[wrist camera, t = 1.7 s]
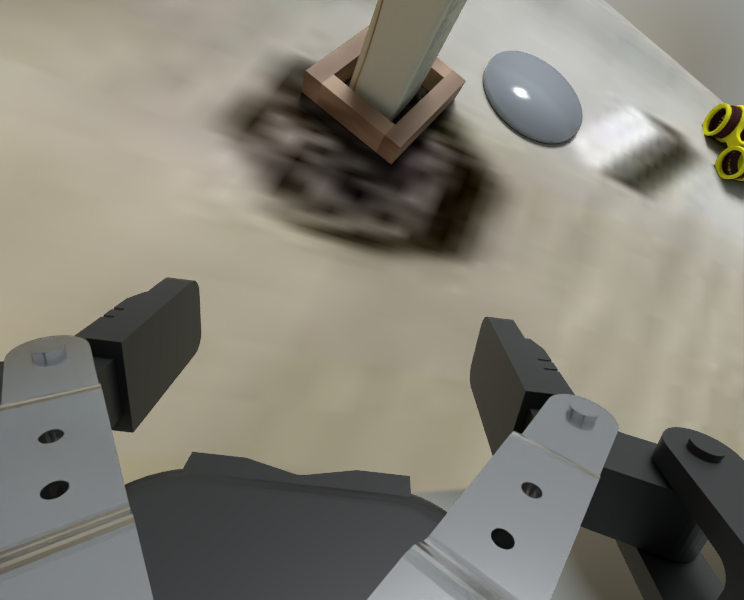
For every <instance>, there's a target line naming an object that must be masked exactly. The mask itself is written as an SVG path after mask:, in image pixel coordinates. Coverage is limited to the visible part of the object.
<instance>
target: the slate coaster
mask: <svg viewBox="0 0 744 600" xmlns="http://www.w3.org/2000/svg"><path fill="white" fill-rule="evenodd" d="M483 84H484V89H485V93H486V95H487V98H488V100H489V102H490V103H491V105H492V107H493V108H494V110H495V111H496V112H497V113H498V115H499V116H500V117H501V118H502V119H503V120H504V121H505V122H506V123H507V124H508V125H509V126H511V127H512V128H513V129H515V130H516V131H517V132H519V133H521V134H522V135H524V136H526V137H528V138H530V139H533V140H535V141H538V142H542V143H548V144H557V143H562V142H565V141H567V140H569V139H570V138H571V137H572V136H573V135H574V134H575V133H576V132H577V131H578V130H579V128H580V126H581V123H582V108H581V104H580V102H579V99H578V97H577V95H576V93H575V91H574V90H573V88H572V87H571V85H570V84H569V83H568V81H567V80H566V79H565V78H564V77H563V76H562V75H561V74H560V73H559V72H558V71H557V70H556V69H555V68H553V67H552V66H551V65H549V64H548V63H546V62H545V61H543V60H541V59H539V58H537V57H535V56H533V55H530V54H527V53H524V52H519V51H505V52H501V53H499V54H497V55H495V56H494V57H493V58H492V59H491V60H490V62H489V63H488V65H487V66H486V68H485V71H484V75H483Z"/></svg>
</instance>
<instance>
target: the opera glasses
mask: <svg viewBox="0 0 744 600" xmlns="http://www.w3.org/2000/svg"><path fill="white" fill-rule="evenodd" d="M703 132H704V134H705V135H708V136H712V137H715V138H716V139H717V140H718V141H720V142H723V143H724V142H726V143H727V146H728V148H727V149H725V150H724V151H722V152H721V153H720V155H719V156H718V158H717V160H716V163H715V168H716V170H717V172H718V174H719V176H720V177H721V178H723V179H735V180H739V181H744V106H742V105H738V106H730V105H728V104H719V105H717V106H716V107H714V108H713V109H712V110H711V111H710V112H709V114H708V115H707V117H706V118H705V120H704V123H703Z"/></svg>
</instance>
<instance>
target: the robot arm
mask: <svg viewBox="0 0 744 600" xmlns="http://www.w3.org/2000/svg"><path fill="white" fill-rule="evenodd" d="M200 339H201V318H200V296H199V286H198V284H197V282H196V281H192V280H184V279H176V278H165V279H164V280H162V281H161V282H160V283H158V284H157V285H156V286H154V287H153V288H152V289H150V290H149V291H148V292H144V293H141V294H138V295H135V296H133V297H130V298H127V299H125V300H124V301H123V302H121V303H120V304H118V305H117V306H116V307H114V310H113V309H111V310H110V311H109V312H107V313H106V314H104V317H100V318H99V319H97V320H96V321H95V322H93V323H92V324H90V325H89V326H88V327H86V328H85V329H83V330H82V331H81V332H79V333H78V334H76V335H75V336H68V335H60V336H49V337H44V338H39V339H35V340H32V341H29V342H26V343H24V344H21V345H19V346H17V347H15V348H14V349H12V350H11V351H10V352H9V353H8V354H7V355H6V357H5V359H4V361H3V362H0V600H550V599H551V597H552V594H553V592H554V589H555V587H556V584H557V582H558V579H559V577H560V575H561V572H562V569H563V567H564V565H565V562H566V560H567V557H568V555H569V552H570V550H571V548H572V545H573V543H574V540H575V538H576V535H577V533H578V530H579V528H580V526H582V527H584V528H587V529H589V530H592V531H595V532H597V533H600V534H602V535H605V536H608V537H610V538H613V539H615V540H616V542H617V544H618V547H619V549H620V551H621V553H622V555H623V557H624V559H625V561H626V563H627V565H628V567H629V570H630V572H631V574H632V576H633V578H634V580H635V582H636V584H637V586H638V588H639V590H640V593H641V595H642V597H643V599H644V600H744V460H743V459H742V458H741V457H740V456H739V455H738V454H736V453H735V452H734V451H733V450H732V449H730V448H729V447H727V446H726V445H724V444H723V443H721V442H719V441H718V440H716V439H714V438H712V437H710V436H708V435H705V434H703V433H700V432H697V431H694V430H691V429H686V428H680V427H672V428H668V429H666V430H665V431H664V432H663V434H662V436H661V438H660V440H659V442H658V444H656V443H652V442H649V441H646V440H643V439H640V438H636V437H633V436H630V435H627V434H624V433H621V432H618V429H619V427H618V423H617V421H616V420H615V418H614V417H613V416H612V415H611V414H610V413H609V412H608V411H607V410H606V409H604V408H603V407H601V406H600V405H598V404H596V403H595V402H592V401H590V400H588V399H586V398H583V397H580V396H576V395H575V394H574V393H573V392H572V390H571V389H570V387H569V386H568V384H567V383H566V381H565V380H564V378H563V377H562V375H561V374H560V372H557V370H558V369H557V368H556V366H555V365H554V363H552V362H551V359H550V358H549V356H548V355H547V353H546V352H545V350H544V349H543V348H541V347H540V346H539V345H537V344H536V343H535V342H533V341H532V340H531V339H526V338H524V336H523V335H522V333H521V332H520V330H519V328H518V327H517V325H516V324H515V322H514V321H513V320H509V319H501V318H493V317H485V318H484V320H483V322H482V324H481V328H480V332H479V336H478V340H477V344H476V348H475V352H474V356H473V360H472V364H471V370H470V384H471V389H472V392H473V395H474V398H475V401H476V404H477V408H478V411H479V414H480V417H481V420H482V423H483V426H484V430H485V433H486V436H487V439H488V442H489V445H490V449H491V452H492V455H493V456H492V458H491V459H490V460H489V461H488V463H487V464H486V465H485V466H484V468H483V469H482V470H481V471H480V473H479V474H478V475H477V476H476V478H475V479H474V480H473V481H472V483H471V484H470V485H469V486H468V488H467V489H466V490H465V491H464V493H463V494H462V495H461V496H460V498H459V499H458V500H457V502H456V503H455V504H454V505H453V507H452V508H451V509H450V510H449V512H448V513H447V512H446V511H445V510H443V509H442V508H440V507H438V506H437V505H435V504H433V503H431V502H429V501H427V500H425V499H423V498H421V497H418V496H416V495H413V494H411V489H410V476H403V475H394V474H385V473H377V472H368V471H359V470H354V471H344V472H333V473H322V474H311V475H296V474H293V473H290V472H287V471H284V470H281V469H278V468H275V467H272V466H269V465H266V464H263V463H260V462H257V461H254V460H251V459H248V458H243V457H234V456H225V455H216V454H207V453H198V452H192V454H191V456H190V457H189V459H188V461H187V463H186V464H185V466H184V468H183V469H177V470H171V471H165V472H161V473H157V474H153V475H149V476H146V477H143V478H141V479H138V480H135V481H132V482H130V483H128V484H126V485H124V481H123V476H122V472H121V468H120V464H119V459H118V455H117V451H116V447H115V442H114V438H113V434H112V430H115V431H124V432H134V431H135V430H136V428H137V427H138V426H139V425H140V423H141V422H142V421H143V420H144V418H145V417H146V416H147V414H148V413H149V412H150V411H151V409H152V408H153V407H154V406H155V404H156V403H157V402H158V401H159V399H160V398H161V397H162V395H163V394H164V393H165V392H166V390H167V389H168V388H169V387H170V385H171V384H172V383H173V382H174V380H175V379H176V378H177V376H178V375H179V374H180V373H181V371H182V370H183V369H184V368H185V366H186V365H187V364H188V363H189V361H190V360H191V359H192V357H193V356H194V355H195V354H196V352H197V350H198V347H199V344H200ZM707 540H709V541H710V543H711V544H712V546H713V547H714V548H715V550H716V551H717V553H718V554H719V556H720V558H721V559H722V562H723V565H724V568H725V574H726V583H725V587H724V586H723V585H722V583H721V582H720V580H719V579H718V577H717V576H716V574H715V573H714V571H713V570H712V568H711V567H710V565H709V564H708V562H707V561H706V559H705V558H704V556H703V555H702V553H701V552H700V551H701V550H702V548H703V546H704V545H705V543H706V541H707Z"/></svg>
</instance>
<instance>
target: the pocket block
mask: <svg viewBox="0 0 744 600" xmlns="http://www.w3.org/2000/svg"><path fill="white" fill-rule="evenodd" d="M369 26H370V25H369ZM369 26H368V27H366V28H365V29H364V30H362V31H361V32H359V33H358V34H357V35H355V36H354V37H352V38H351V39H350V40H348V41H347V42H345V43H344V44H343V45H341V46H340V47H338V48H337V49H336V50H334V51H333V52H331V53H330V54H328V55H327V56H326V57H324V58H323V59H321V60H320V61H319V62H317V63H316V64H314V65H313V66H312V67H310V68H309V69H307V70H306V72H305V77H304V82H303V87H302V93H304V94H305V95H306V96H307V97H309V98H310V99H311V100H312V101H313V102H315V103H316V104H317V105H318V106H320V107H321V108H322V109H323V110H324V111H326V112H327V113H328V114H329V115H331V116H332V117H333V118H334V119H336V120H337V121H338V122H339V123H340V124H342V125H343V126H344V127H345V128H347V129H348V130H349V131H350V132H351V133H353V134H354V135H355V136H356V137H358V138H359V139H360V140H361V141H363V142H364V143H365V144H366V145H367V146H369V147H370V148H371V149H372V150H374V151H375V152H376V153H377V154H378V155H380V156H381V157H382V158H383V159H385V160H386V161H387V162H388V163H390V164H392V163H393V162H394V161H395V160H396V159H397V158H398V157H399V156H400V155H401V154H402V153H403V152H404V151H405V150H406V149H407V148H408V146H409V145H410V144H411V143H412V142H413V141H414V140H415V139H416V138H417V137H418V136H419V135H420V134H421V133H422V132H423V131H424V130H425V129H426V128H427V127H428V126H429V125H430V124H431V123H432V122H433V121H434V120H435V119H436V117H437V116H438V115H439V114H440V113H441V112H442V111H443V110H444V109H445V108H446V107H447V106H448V105H449V104H450V103H451V102H452V101H453V100H454V99H455V97H456V96H457V94H458V92H459V91H460V89H461V88H462V86H463V84H464V83H465V80H464V79H463V78H462V77H460V76H459V75H458V74H457V73H455V72H454V71H453V70H452V69H451V68H449V67H448V66H447V65H446V64H445V63H443V62H442V61H441V60H440V59H438V58H437V57H436V59H435V61H434V63H433V65H432V67H431V69H430V71H429V72H428V74H427V76H426V78H425V80H424V82H423V84H422V87H424V88H425V89H426V90H427V91H429V93H428V94H427V95H426V96H425V97H424V98H422V99H421V100H420V101H419V102H418V103H417V104H416V105H415V106H414V107H413V108H412V109H411V110H410V111H409V112H408V113H407V114H406V115H405V116H404V117H403V118H402V119H401V120H400V121H399V122H397V123H396V124H394V123H392V122H391V121H390V120H389V119H387V118H386V117H385V116H384V115H383V114H381V113H380V112H379V111H378V110H376V109H375V108H374V107H373V106H372V105H370V104H369V103H368V102H367V101H365V100H364V99H363V98H362V97H361V96H359V95H358V94H357V93H356V92H354V91H353V90H352V89H351V88H350V87H348V86H347V85H346V84H345V83H344V82H345V81H346V80H348V79H349V78H350V77H351V76H353V73H354V70H355V67H356V63H357V61H358V58H359V55H360V52H361V49H362V46H363V43H364V40H365V37H366V34H367V31H368V29H369Z"/></svg>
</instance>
